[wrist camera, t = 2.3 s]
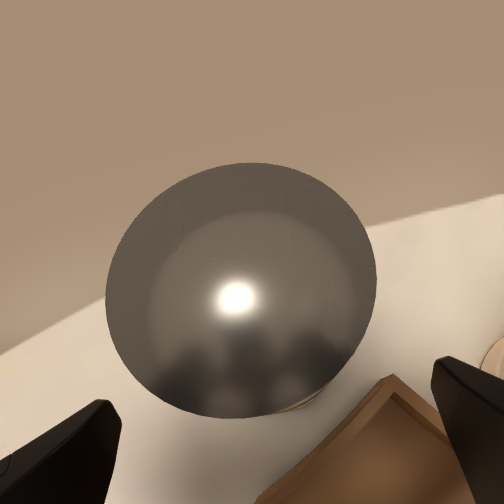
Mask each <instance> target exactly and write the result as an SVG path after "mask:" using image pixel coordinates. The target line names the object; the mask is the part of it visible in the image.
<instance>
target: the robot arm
mask: <svg viewBox="0 0 504 504" xmlns="http://www.w3.org/2000/svg"><path fill="white" fill-rule="evenodd" d="M431 390H432V393H433V396H434V399H435V402H436V404H437V407H438V410H439V413H440V416H441V419H442V422H443V425H444V428H445V431H446V434H447V436H448V439H449V441H450V443H451V445H452V448H453V450H454V452H455V454H456V457H457V459H458V461H459V464H460V466H461V468H462V471H463V473H464V475H465V478H466V480H467V483H468V485H469V488H470V490H471V493H472V495H473V498H474V501H475V503H476V504H504V380H503V379H501V378H498V377H496V376H494V375H492V374H489V373H487V372H485V371H483V370H480V369H478V368H476V367H474V366H471V365H469V364H467V363H465V362H462V361H460V360H458V359H456V358H453V357H451V356H446V357H442V358H439V359H437V360H436V361H435V363H434V367H433V373H432V379H431ZM121 428H122V422H121V419H120V417H119V415H118V413H117V412H116V410H115V408H114V406H113V405H112V403H111V402H110V401H109V400H104V399H97V400H95V401H93V402H92V403H90V404H89V405H87V406H86V407H84V408H82V409H81V410H79V411H78V412H76V413H75V414H73V415H72V416H70V417H69V418H67V419H66V420H64V421H62V422H61V423H59V424H58V425H56V426H55V427H53V428H52V429H50V430H48V431H47V432H45V433H44V434H42V435H41V436H39V437H37V438H36V439H34V440H33V441H31V442H29V443H28V444H26V445H25V446H23V447H21V448H20V449H18V450H16V451H15V452H13V453H12V454H10V455H8V456H7V457H5V458H3V459H2V460H0V504H104V503H105V499H106V496H107V492H108V488H109V485H110V481H111V478H112V474H113V470H114V466H115V461H116V455H117V450H118V444H119V439H120V433H121Z"/></svg>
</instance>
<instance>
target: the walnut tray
mask: <svg viewBox="0 0 504 504" xmlns="http://www.w3.org/2000/svg"><path fill="white" fill-rule="evenodd" d="M254 504H476V503H475V501H474V498H473V495H472V493H471V490H470V488H469V485H468V483H467V480H466V478H465V475H464V473H463V471H462V468H461V466H460V464H459V461H458V459H457V457H456V454H455V452H454V450H453V448H452V445H451V443H450V441H449V439H448V436H447V434H446V431H445V428H444V425H443V422H442V419H441V416H440V413H439V412H438V411H436V410H435V409H434V408H433V407H432V406H431V405H429V404H428V403H427V402H426V401H425V400H424V399H422V398H421V397H420V396H419V395H418V394H416V393H415V392H414V391H413V390H412V389H411V388H409V387H408V386H407V385H406V384H405V383H404V382H402V381H401V380H400V379H399V378H398V377H397V376H395V375H394V374H391V375H389V376H387V377H385V378H382V379H380V381H379V382H378V383H377V384H376V385H375V386H374V388H373V389H372V390H371V391H370V392H369V393H368V395H367V396H366V397H365V398H364V399H363V400H362V401H361V402H360V403H359V405H358V406H357V407H356V408H355V409H354V410H353V411H352V412H351V413H350V414H349V415H348V416H347V417H346V419H345V420H344V421H343V422H342V423H341V424H340V425H339V426H338V427H337V428H336V429H335V430H334V431H333V432H332V433H331V434H330V435H329V436H328V437H327V438H326V439H325V440H324V441H323V442H321V443H320V444H319V445H318V446H317V447H316V448H315V449H314V450H313V451H312V452H311V453H310V454H309V455H308V456H306V457H305V458H304V459H303V460H302V461H301V462H300V463H299V464H297V465H296V466H295V467H294V468H293V469H292V470H291V471H289V472H288V473H287V474H286V475H285V476H283V477H282V478H281V479H280V480H279V481H277V482H276V483H275V484H274V485H272V486H271V487H270V488H269V489H267V490H266V491H265V492H263V493H262V494H261V495H259V496H258V498H257V500H256V501H255V503H254Z"/></svg>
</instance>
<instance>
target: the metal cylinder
mask: <svg viewBox="0 0 504 504" xmlns="http://www.w3.org/2000/svg"><path fill="white" fill-rule="evenodd" d="M376 283H377V276H376V265H375V258H374V254H373V250H372V246H371V243H370V240H369V238H368V235H367V233H366V231H365V228H364V227H363V225H362V223H361V222H360V220H359V218H358V216H357V215H356V214H355V212H354V211H353V210H352V209H351V207H350V206H349V205H348V204H347V202H346V201H344V200H343V199H342V198H341V197H340V196H339V195H338V194H337V193H336V192H335V191H334V190H332V189H331V188H330V187H328V186H327V185H325V184H324V183H322V182H321V181H319V180H317V179H315V178H313V177H311V176H310V175H307V174H305V173H302V172H300V171H297V170H295V169H291V168H287V167H284V166H279V165H273V164H266V163H238V164H231V165H225V166H220V167H216V168H212V169H208V170H205V171H202V172H200V173H198V174H195V175H192V176H190V177H188V178H186V179H184V180H182V181H180V182H178V183H176V184H175V185H173V186H172V187H170V188H168V189H167V190H165V191H164V192H163V193H161V194H160V195H159V196H158V197H156V198H155V199H154V200H153V201H152V202H151V203H150V204H148V205H147V206H146V207H145V208H144V209H143V211H142V212H141V213H140V214H139V215H138V216H137V217H136V218H135V219H134V221H133V222H132V224H131V225H130V227H129V228H128V229H127V231H126V232H125V234H124V236H123V237H122V239H121V241H120V243H119V245H118V247H117V249H116V252H115V254H114V257H113V259H112V262H111V266H110V269H109V274H108V279H107V285H106V299H105V306H106V316H107V323H108V327H109V331H110V335H111V338H112V340H113V343H114V345H115V348H116V350H117V352H118V354H119V356H120V357H121V359H122V361H123V363H124V364H125V366H126V367H127V368H128V370H129V371H130V372H131V373H132V375H133V376H134V377H135V378H136V380H138V381H139V382H140V383H141V384H142V385H143V386H144V387H145V388H146V389H147V390H148V391H150V392H151V393H152V394H154V395H155V396H157V397H158V398H160V399H161V400H163V401H164V402H166V403H168V404H170V405H173V406H175V407H177V408H179V409H181V410H184V411H187V412H190V413H194V414H197V415H201V416H207V417H214V418H221V419H233V418H250V417H257V416H264V415H270V414H276V413H282V412H288V411H293V410H296V409H299V408H301V407H303V406H305V405H307V404H308V403H310V402H311V401H312V400H313V399H314V398H315V397H316V396H317V395H318V394H319V393H320V392H321V391H322V390H323V389H324V388H325V387H326V386H327V385H328V384H329V383H330V381H331V380H332V379H333V378H334V377H335V376H336V375H337V374H338V373H339V371H340V370H341V369H342V368H343V367H344V365H345V364H346V363H347V361H348V360H349V359H350V358H351V356H352V355H353V354H354V352H355V350H356V349H357V347H358V345H359V343H360V342H361V340H362V338H363V336H364V334H365V332H366V329H367V327H368V324H369V321H370V319H371V316H372V311H373V307H374V302H375V298H376Z"/></svg>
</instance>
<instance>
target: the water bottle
mask: <svg viewBox="0 0 504 504" xmlns="http://www.w3.org/2000/svg"><path fill="white" fill-rule="evenodd" d="M481 370H483V371H485V372H487V373H489V374H492V375H494V376H496V377H498V378H501V379H503V380H504V337H503V338H502V339H500V340H499V341H498V342H496V343H495V345H494V346H493V347H492V348H491V349H490V351H489V352H488V353H487V355H486V357H485V359H484V361H483V364H482V366H481Z"/></svg>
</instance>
